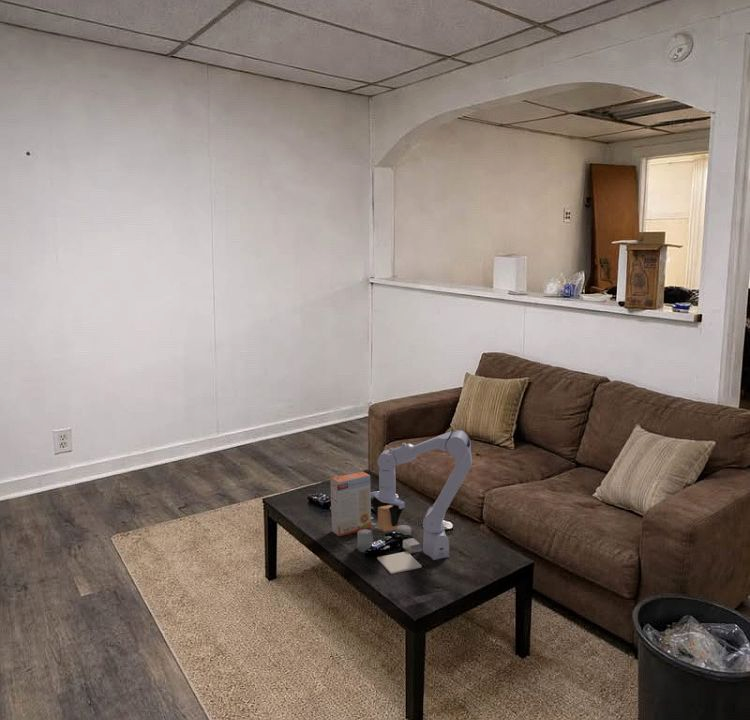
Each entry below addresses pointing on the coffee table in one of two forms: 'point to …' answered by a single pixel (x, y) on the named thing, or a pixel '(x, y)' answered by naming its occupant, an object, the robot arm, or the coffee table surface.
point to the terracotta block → (385, 518)
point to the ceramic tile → (399, 562)
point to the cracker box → (350, 503)
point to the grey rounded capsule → (364, 539)
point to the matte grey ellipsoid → (403, 529)
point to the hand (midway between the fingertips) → (387, 522)
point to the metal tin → (411, 545)
